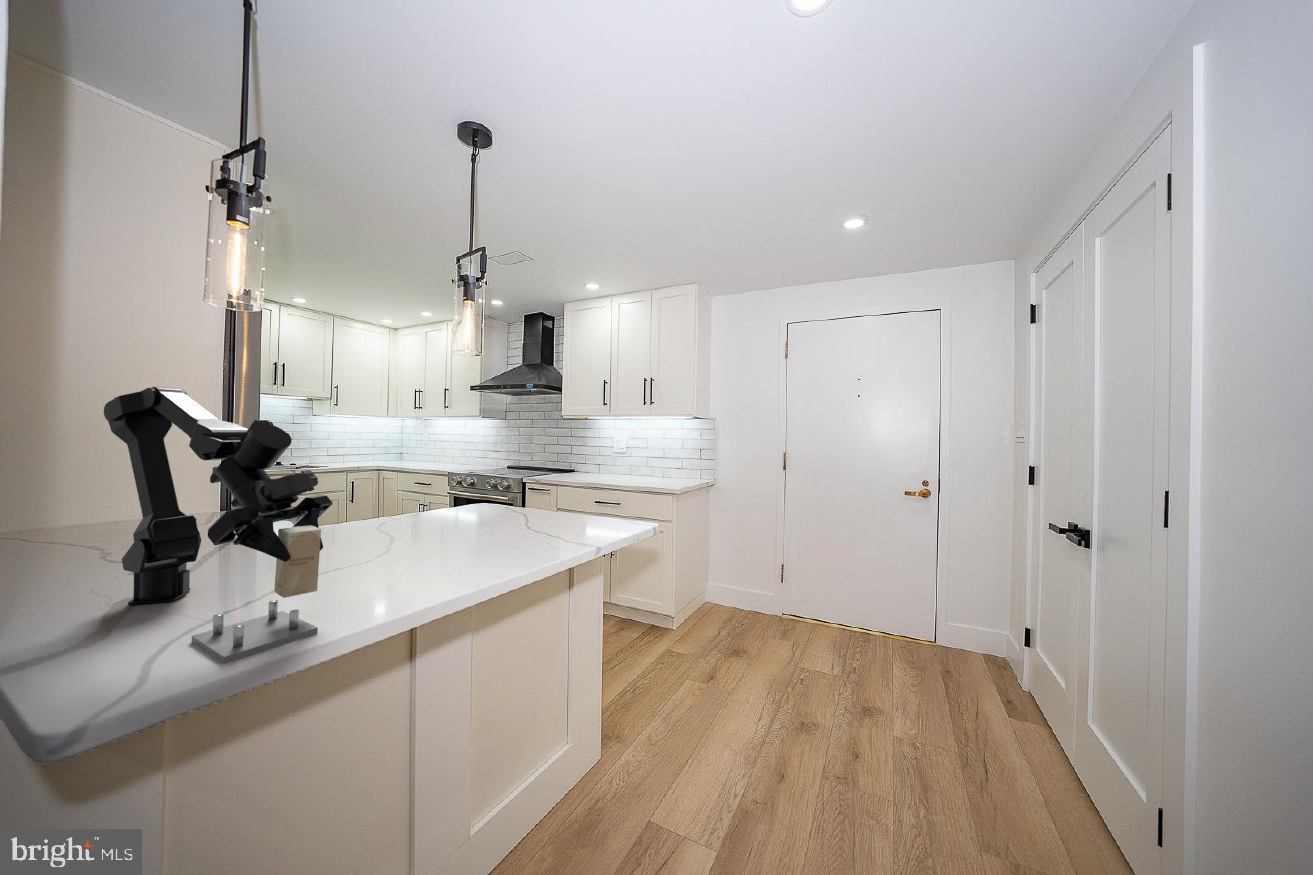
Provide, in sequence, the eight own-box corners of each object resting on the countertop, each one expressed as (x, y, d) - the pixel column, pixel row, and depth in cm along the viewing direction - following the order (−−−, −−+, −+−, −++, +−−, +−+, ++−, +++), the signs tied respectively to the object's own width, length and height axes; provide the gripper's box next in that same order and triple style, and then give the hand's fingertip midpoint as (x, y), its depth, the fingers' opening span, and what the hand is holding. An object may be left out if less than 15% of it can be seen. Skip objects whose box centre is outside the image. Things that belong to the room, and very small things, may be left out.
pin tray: (224, 663, 67) (224, 636, 67) (191, 641, 73) (192, 616, 73) (317, 633, 78) (318, 609, 78) (282, 616, 84) (283, 594, 84)
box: (282, 599, 78) (285, 533, 78) (273, 592, 80) (275, 528, 80) (319, 590, 82) (322, 528, 82) (309, 584, 85) (311, 523, 84)
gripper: (226, 459, 72) (288, 537, 71) (326, 453, 90) (375, 515, 89) (180, 505, 73) (239, 583, 72) (287, 490, 92) (336, 551, 91)
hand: (305, 554), depth 81 cm, fingers closed on box, 6 cm apart
